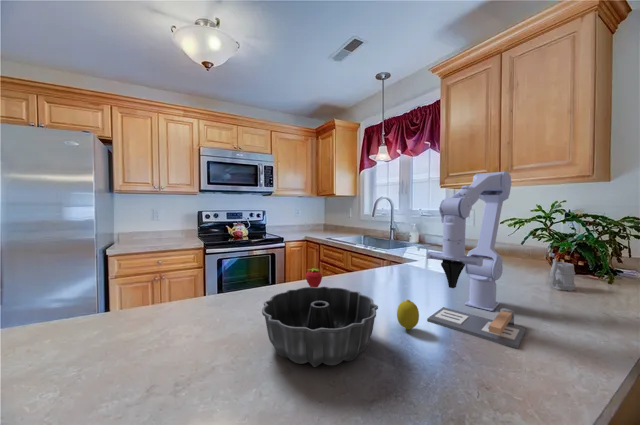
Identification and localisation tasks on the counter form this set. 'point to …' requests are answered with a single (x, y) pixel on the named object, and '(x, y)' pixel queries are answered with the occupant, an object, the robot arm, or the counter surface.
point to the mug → (562, 276)
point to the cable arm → (501, 321)
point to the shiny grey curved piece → (511, 321)
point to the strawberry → (313, 277)
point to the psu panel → (477, 326)
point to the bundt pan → (319, 324)
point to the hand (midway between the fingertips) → (452, 287)
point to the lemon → (407, 314)
